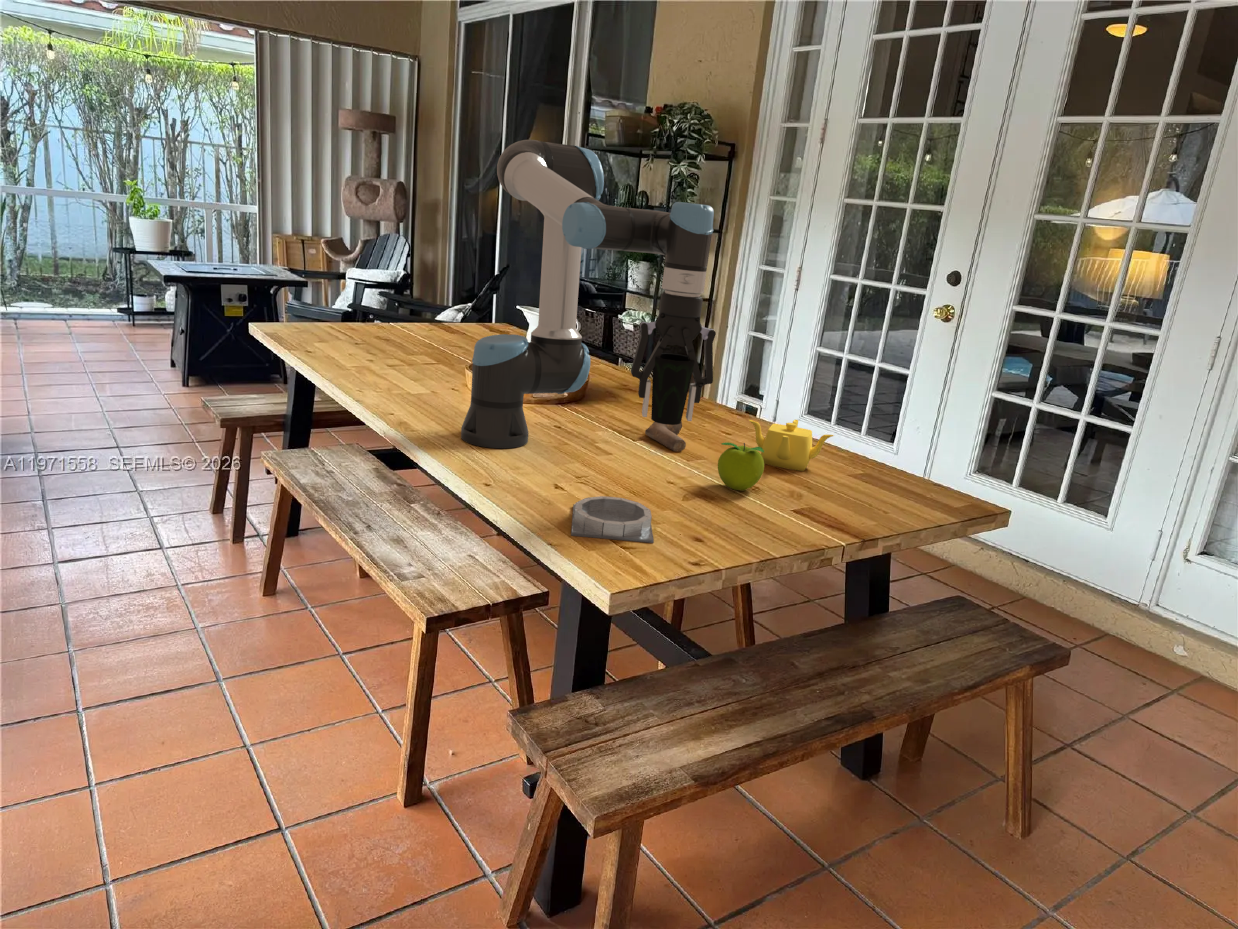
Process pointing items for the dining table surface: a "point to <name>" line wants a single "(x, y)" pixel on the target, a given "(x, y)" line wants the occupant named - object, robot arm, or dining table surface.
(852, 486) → the dining table surface
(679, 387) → the cup
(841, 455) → the dining table surface
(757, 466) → the fruit
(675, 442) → the pipe
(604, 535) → the duct collar
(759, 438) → the teapot
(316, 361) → the dining table surface
